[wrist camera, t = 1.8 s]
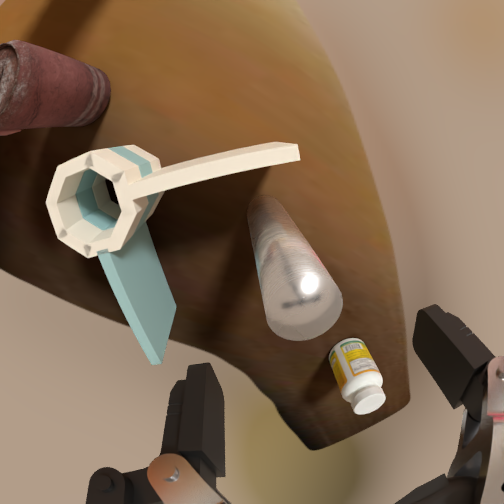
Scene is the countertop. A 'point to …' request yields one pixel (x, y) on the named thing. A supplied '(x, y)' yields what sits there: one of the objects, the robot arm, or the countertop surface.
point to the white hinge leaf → (138, 188)
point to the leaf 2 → (134, 268)
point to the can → (47, 89)
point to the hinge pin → (290, 274)
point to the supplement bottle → (357, 375)
